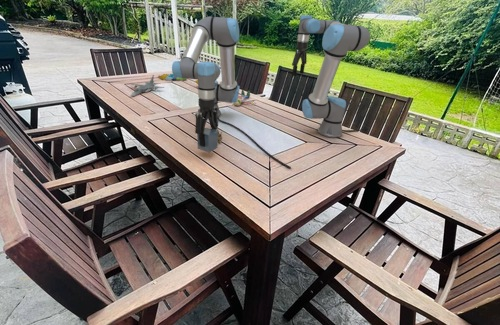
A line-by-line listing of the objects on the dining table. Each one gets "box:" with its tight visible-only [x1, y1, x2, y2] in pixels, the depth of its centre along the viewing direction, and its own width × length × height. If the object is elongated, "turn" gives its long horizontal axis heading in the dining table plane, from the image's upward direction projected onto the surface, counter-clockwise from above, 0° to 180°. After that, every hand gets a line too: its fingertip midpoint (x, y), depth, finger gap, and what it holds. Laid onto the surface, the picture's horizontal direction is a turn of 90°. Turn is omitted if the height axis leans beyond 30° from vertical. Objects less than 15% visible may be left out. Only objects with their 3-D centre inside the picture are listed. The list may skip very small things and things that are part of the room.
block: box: [196, 126, 219, 154], centre depth 130 cm, size 7×7×10 cm
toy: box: [232, 89, 257, 106], centre depth 219 cm, size 28×7×30 cm
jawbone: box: [215, 123, 223, 144], centre depth 149 cm, size 9×15×10 cm
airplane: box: [130, 74, 165, 97], centre depth 228 cm, size 38×32×10 cm
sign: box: [158, 73, 187, 82], centre depth 282 cm, size 26×2×30 cm
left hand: (207, 143), depth 131 cm, fingers closed on block, 7 cm apart
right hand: (297, 74), depth 184 cm, fingers open, 13 cm apart
